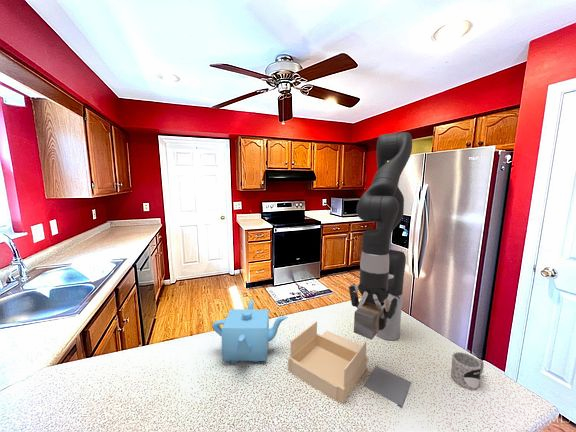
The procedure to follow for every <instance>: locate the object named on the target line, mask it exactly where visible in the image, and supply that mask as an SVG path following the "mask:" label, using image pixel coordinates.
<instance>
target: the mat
mask: <svg viewBox="0 0 576 432" xmlns="http://www.w3.org/2000/svg"><path fill="white" fill-rule="evenodd" d="M411 385H412V382H411V381H409V380H408V379H405V378H403V377H401V376H399V375H397V374H395V373H392V372H391V371H388V370H386V369H384V368H382V367H380V366H378V365H375V367H373V370H372V371H371V373H370V374H369V377H367V379H366V381H365V382H364V384H363V387H365V388H366V389H368V390H370V391H373V392H374V393H376V394H378V395H380V396H382V397H383V398H385V399H386V400H387V399H388V400H389V401H391V402H393V403H395V404H396V406H397V407H399V408H401V409H402V408H403V405H404V403H405V400H406V397H407V395H408V392H409V390H410V387H411Z"/></svg>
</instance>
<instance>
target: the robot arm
mask: <svg viewBox="0 0 576 432" xmlns="http://www.w3.org/2000/svg"><path fill="white" fill-rule="evenodd" d="M412 151H413V137H412V135H411V133H410V132H407V131H405V132H404V131H402V132H394V133H383V134H380V135H379V136H378V138H377V141H376V169H377V171H376V172H375V174H374V177H373V179H372V181H371V185H370V186H369V187H368V188H367V190H366V191H365V192H364V193H363V194H362V195H361V196H360V198H359V200H358V202H357V204H356V214H357V216H358V218H359V219H360V220H361V221H365V222H375V223H376V224H375V226H376V227H375V228H374V229H366V230H365V231H363V233H362V241H361V253H360V262H359V266H360V267H359V284H355V283H352V284H350V286H348V292H349V296H350V297H349V298H350V302H351V305H352V307H356V310H357V309H358V308H359V307H361V306H362V305H364V304H365V303H367V302H368V303H372V304H374V305H376V307H377V310H378V311H380V313H379V314H380V318H379V332H378V333H377V334H376V335H375V336H377V337H379V338H380V339H383V340H387V341H396V340H398V339H399V338H400V334H401V333H400V332H401V318H402V305H403V293H404V292H403V288H404V279H405V271H406V264H407V259H406V258H407V256H406V253H405V252H404V251H400V250H396V249H395V250H394V249H390V243H391V236H392V232H393V231H394V230H395V228H396V227H397V226H398V225H399V224H400V222H401V221H402V220H403V217H404V210H405V199H404V197H405V196H404V195H403V193H402V191H401V189H400V188H399V187H398V186H399V181H400V177H401V175H402V173H403V171H404V169H405V167H406V166H407V163H408V161H409V160H410V157H411V155H412ZM389 275H391V276H393V277H391V278H389ZM358 292H359V293H360V295H361V298H360V299H359V294H358ZM385 301H387V302H388V311H387V310H386V304H385ZM386 320H387V322H386Z"/></svg>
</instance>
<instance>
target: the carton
mask: <svg viewBox="0 0 576 432" xmlns="http://www.w3.org/2000/svg"><path fill="white" fill-rule="evenodd" d="M317 332H318V321H314V323H312V324H311V325H309V326H308V327H307V328H306V329H305V330H303V331H302V332H301V333H299V334H298V335H297V336H295V337H294V338H292V339H291V340H290V347H289V348H290V355H289V357H288V359H287V361H288V364H287V365H288V366H287V370H288V371H289V372H291V373H292V375H294V376H295V377H297V378H299V379H300V380H302V381H304V382H305V383H307V384H309V386H311V387H313V388H315V389H316V390H318V391H319V392H321V393H323V394H324V395H326V396H327V397H329V398H330V399H332V400H334V401H335V402H336V401H338V402H339V403H340V404H342V405H344V403H345V402H346V401H347V399H348V397H349V395H351V393H352V391H353V390H354V388H355V387H356V385H357V384H358V382H359V380H360V379H361V378H362V376H363V374H364V373H365V371H367V365H368V356H367V344H368V343H367V341H365V342H364V343H363V344H359V343H357V342H356V341H352V340H351V339H347V338H345V337H344V336H341V335H339V334H336V333H334V332H332V331H329V330H326V331H325V332H324V333H322V334H318V333H317Z"/></svg>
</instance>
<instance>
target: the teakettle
mask: <svg viewBox="0 0 576 432" xmlns="http://www.w3.org/2000/svg"><path fill="white" fill-rule="evenodd" d="M287 319H288V316H285V315H283V316H279V317H277V318H276V319H275V321H274V322H273V326H271V328H270V309H260V308H259V309H255V308H254V300H253V299H250V300H249V302H248V307H247V308H246V309H244V308H243V309H240V308H239V309H231V308H230V309H229V311H228V313H227V315H226V317H225V319H219V320H215V321H214V322H213V323H212V329H213V331H214V332H215V333H217V335H218V336H220V337H221V362H229V364H230V365H236V364H238V363H239V362H253V363H259V362H267V360H268V350H269V349H268V347H269V342H271V341H273V340H274V338H276V336H277V333H278V329H279V327H280V325H281V323H282V322H283V321H285V320H287ZM220 325H222V327H221V326H220Z"/></svg>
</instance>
